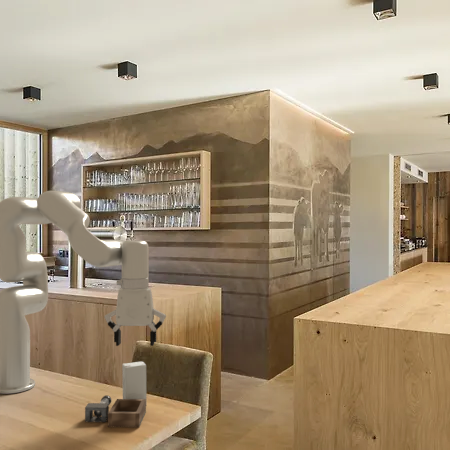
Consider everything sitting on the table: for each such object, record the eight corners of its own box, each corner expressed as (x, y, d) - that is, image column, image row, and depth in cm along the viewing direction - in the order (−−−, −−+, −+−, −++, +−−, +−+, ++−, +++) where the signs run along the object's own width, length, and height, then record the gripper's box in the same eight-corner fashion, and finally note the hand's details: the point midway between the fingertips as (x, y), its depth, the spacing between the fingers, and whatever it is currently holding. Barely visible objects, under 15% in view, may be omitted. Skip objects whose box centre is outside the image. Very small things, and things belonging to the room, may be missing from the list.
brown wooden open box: (107, 427, 121) (107, 413, 121) (116, 411, 131) (117, 399, 131) (139, 427, 121) (139, 413, 121) (145, 412, 131) (146, 399, 131)
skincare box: (142, 402, 139) (143, 360, 139) (147, 407, 134) (147, 364, 135) (121, 405, 136) (121, 362, 136) (125, 411, 132) (125, 367, 132)
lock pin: (92, 417, 127) (92, 407, 127) (101, 405, 136) (101, 395, 136) (103, 417, 127) (103, 407, 127) (111, 405, 136) (111, 395, 136)
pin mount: (85, 422, 124) (85, 407, 124) (88, 417, 127) (88, 403, 127) (105, 422, 124) (105, 407, 124) (108, 417, 127) (108, 403, 127)
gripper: (101, 286, 132) (101, 348, 131) (164, 285, 131) (164, 348, 131) (108, 282, 139) (108, 341, 139) (167, 282, 139) (167, 341, 139)
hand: (135, 344), depth 135 cm, fingers open, 9 cm apart
